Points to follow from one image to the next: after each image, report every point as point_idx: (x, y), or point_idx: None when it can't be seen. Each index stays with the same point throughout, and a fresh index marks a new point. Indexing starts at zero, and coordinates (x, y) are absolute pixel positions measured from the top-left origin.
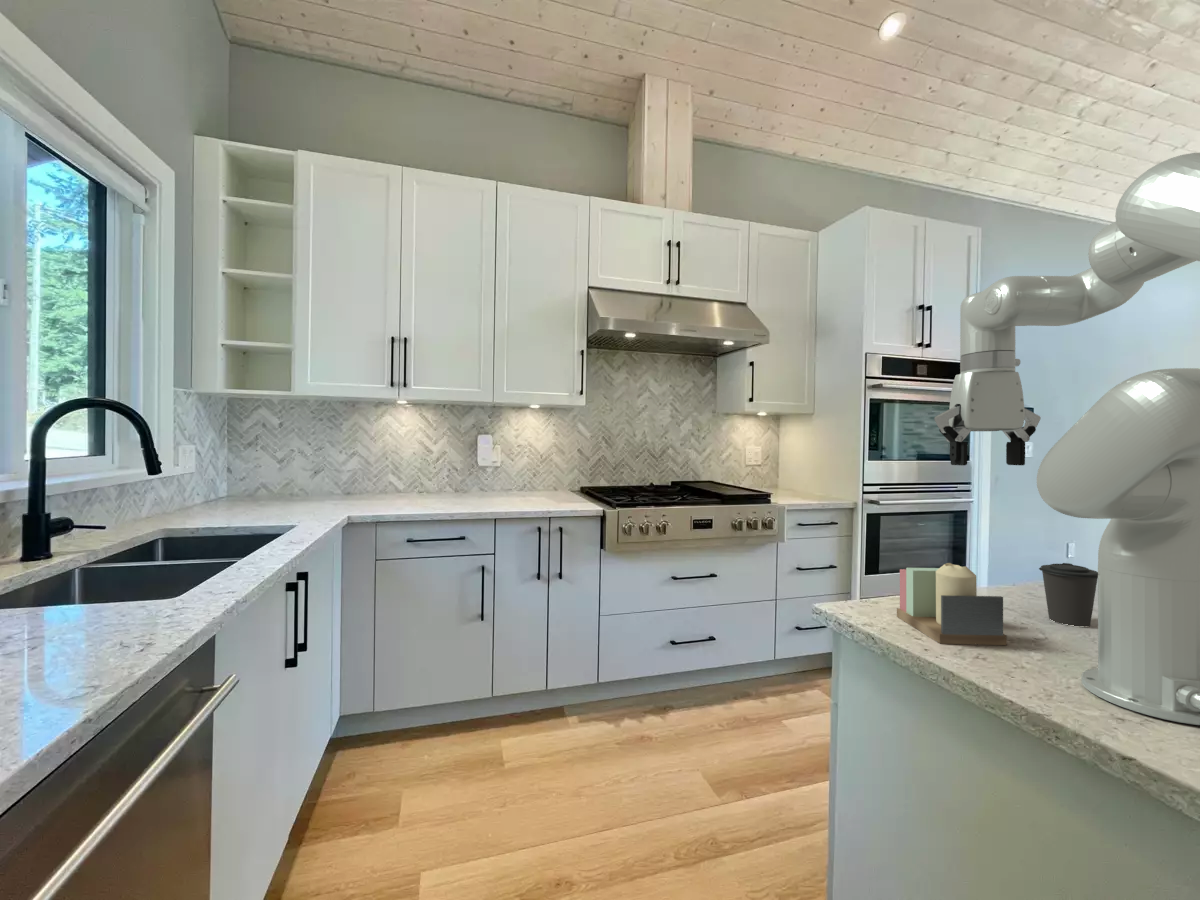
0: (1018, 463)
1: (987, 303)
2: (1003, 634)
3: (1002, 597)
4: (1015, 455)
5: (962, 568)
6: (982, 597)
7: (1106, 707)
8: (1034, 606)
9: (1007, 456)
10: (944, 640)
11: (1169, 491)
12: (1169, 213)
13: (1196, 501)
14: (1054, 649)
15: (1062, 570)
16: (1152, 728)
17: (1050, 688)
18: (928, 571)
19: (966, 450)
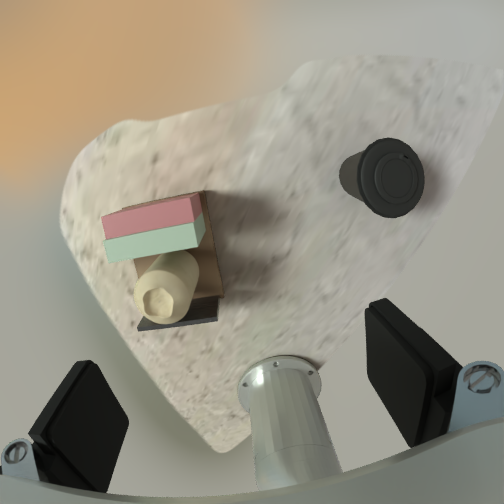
0: (370, 371)
1: None
2: (222, 294)
3: (216, 320)
4: (385, 381)
5: (164, 318)
6: (189, 324)
7: (235, 404)
8: (354, 106)
9: (383, 332)
10: None
11: None
12: None
13: None
14: (273, 293)
15: (378, 193)
16: (245, 421)
17: (211, 385)
18: (132, 258)
19: (110, 469)
